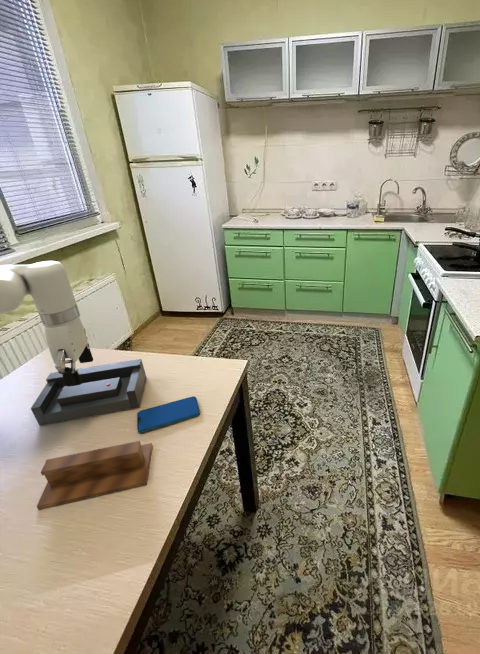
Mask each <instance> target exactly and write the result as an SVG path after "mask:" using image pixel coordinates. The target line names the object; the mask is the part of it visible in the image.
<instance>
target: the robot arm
mask: <svg viewBox="0 0 480 654" xmlns="http://www.w3.org/2000/svg"><path fill="white" fill-rule="evenodd" d="M67 273H68V272H67V270H66V268H65V265H64V264H63V263H61V262H60V261H56V260H44V261H38V262H35V263H31V264H30V263H29V264H28V263H27V264H1V265H0V315H4V314H9V313H12V312H14V311H16V310H17V309H18V308H19V307H21V305H22V304H23V302H24V299H25V297H26V296H29V295H30V296H31V297H32V300H33V302H34V305H35V308H36V311H37V313H38V316H39V318H40V320H41V323H42V326H44V334H45V340H46V344H47V346H48V349H49V353H50V356H51V359H52V362H53V363H54V365H55V366H54V368H55V369H56V370H57V372H59V373H60V374H61V375H63V378H64V380H65V383H66V385H67V386H68V387H69V386H76V385H81V383H82V381H81V378H80V376H79V373H78V370H75V369H76V363H77V361H79V364H86V363H92V362H93V361H94V357H93V354H92V351H91V348H90V343H89V342H88V336H87V331H86V328H85V327H84V325H83V322H82V319H81V313H80V310H79V307H78V304H77V301H76V298H75V295H74V292H73V288H72V285H71V283H70V279H69V277H68V274H67ZM66 359H67V360H66ZM66 364H67V365H68V364H70V367H69V366H67V367H66Z"/></svg>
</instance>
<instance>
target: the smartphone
mask: <svg viewBox="0 0 480 654" xmlns="http://www.w3.org/2000/svg"><path fill="white" fill-rule="evenodd" d="M199 415H201V410H200V406H199V404H198V398H197V397H196V396H195V395H193V396H189V397H185V398H181V399H178V400H175V401H170V402H167V403H163V404H160V405H156V406H153V407H149V408H145V409H141V410H139V411H138V412H136V427H137V432H138V433H140V434H141V433H144V432H148V431H152V430H155V429H158V428H162V427H166V426H169V425H172V424H175V423H179V422H182V421H186V420H189V419H192V418H196V417H198V416H199Z"/></svg>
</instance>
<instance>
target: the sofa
mask: <svg viewBox="0 0 480 654" xmlns="http://www.w3.org/2000/svg"><path fill="white" fill-rule="evenodd" d="M75 370H78V373H79V376H80V378H81V381H82V383H88V382H94V381H100V380H106V379H112V378H118V377H120V378H121V382H122V387H121V390H120V393H119V396H116V397H110V398H105V399H99V400H93V401H88V402H82V403H76V404H71V405H65V406H60V405H59V402H58V400H57V398H58V396H59V395H60V393H61V391H62V389H63V387H64V386H67V385H66V383H65V380H64V378H63V375H61V374H60V373H59V372H58V371H55V372H50V373H49V374H48V376H47V377H46V378H45V381H46V383H45V385H44V387H43V389H42V390H41V392H40V393H39V395H38V396H37V398H36V400H35V401H34V402H33V404H32V405H31V407H30V410H31V412H32V414H33V416H34V418H35V420H36V422H37V424H38V426H39V427H43V426H48V425H52V424H53V425H54V424H58V423H64V422H69V421H75V420H76V421H77V420H80V419H81V420H82V419H85V418H91V417H97V416H101V415H103V416H104V415H106V414H113V413H119V412H125V411H130V410H135V409H140V408H141V403H142V399H143V395H144V390H145V386H146V383H147V375H146V371H145V367H144V363H143V359H142V358H138V359H137V358H136V359H132V360H125V361H119V362H113V363H106V364H99V365H93V366H87V367H80V368H75ZM82 383H81V384H82Z"/></svg>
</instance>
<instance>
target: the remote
mask: <svg viewBox="0 0 480 654" xmlns="http://www.w3.org/2000/svg"><path fill="white" fill-rule="evenodd" d="M121 387H122V382H121V378H120V377H118V378H112V379H106V380H100V381H94V382H88V383H82V384H81V385H76V386H69V387H68V386H64V387H63V389H62V391H61V393H60V395H59V396H58V398H57V400H58V402H59V405H60V406H65V405H71V404H76V403H82V402H88V401H93V400H99V399H105V398H110V397H116V396H119V393H120V390H121Z"/></svg>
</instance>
